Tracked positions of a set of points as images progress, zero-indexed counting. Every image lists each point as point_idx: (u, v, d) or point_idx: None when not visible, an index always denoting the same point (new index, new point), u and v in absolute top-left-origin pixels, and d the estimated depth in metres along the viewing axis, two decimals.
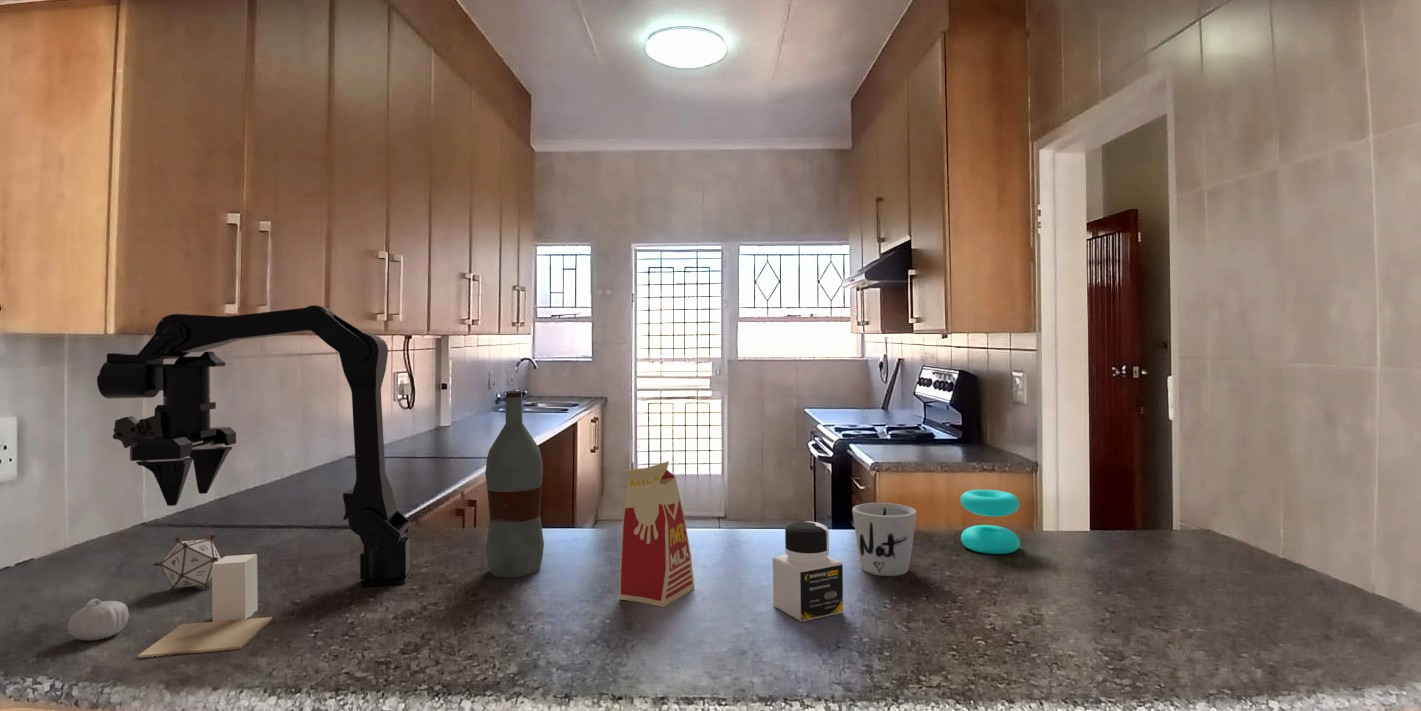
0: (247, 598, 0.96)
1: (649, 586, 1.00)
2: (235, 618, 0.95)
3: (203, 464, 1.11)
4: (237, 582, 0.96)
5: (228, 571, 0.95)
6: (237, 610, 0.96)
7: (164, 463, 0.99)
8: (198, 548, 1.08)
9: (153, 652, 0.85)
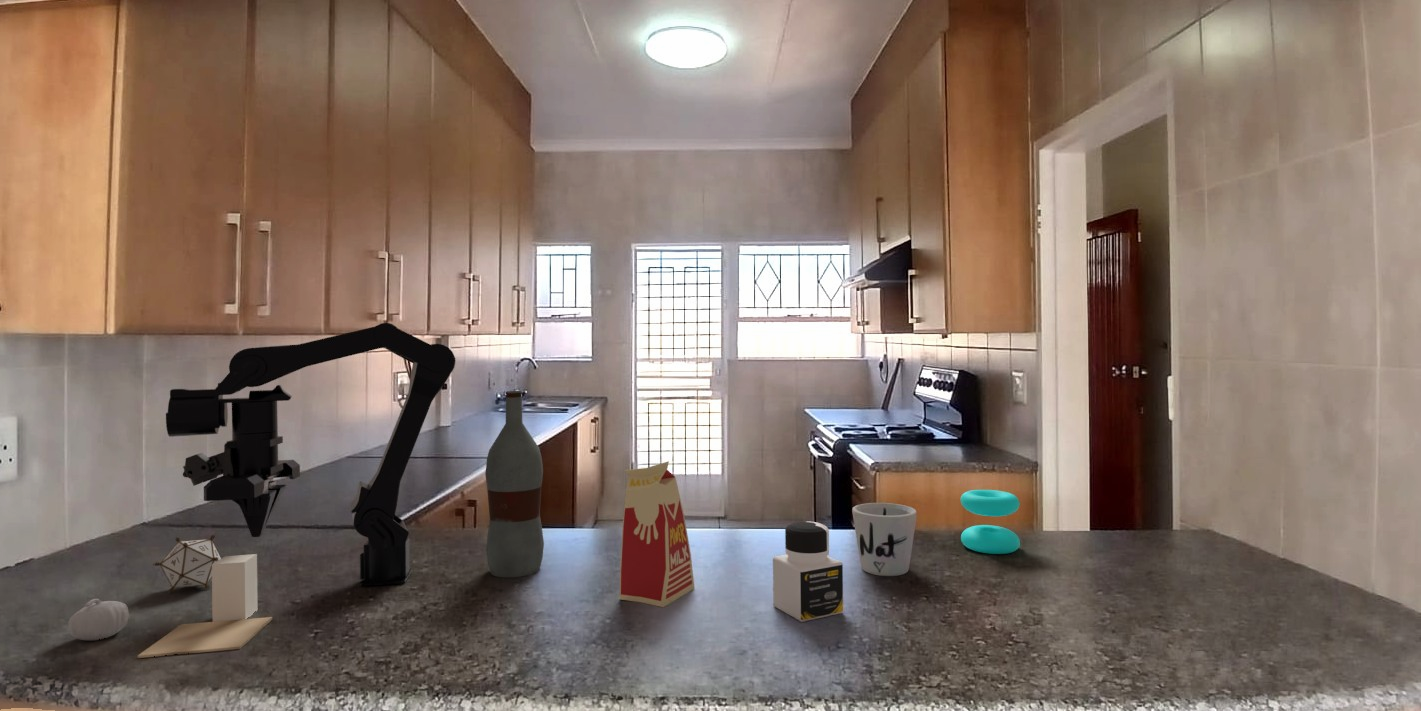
0: (247, 598, 0.96)
1: (649, 586, 1.00)
2: (235, 618, 0.95)
3: None
4: (237, 582, 0.95)
5: (228, 571, 0.95)
6: (237, 610, 0.96)
7: None
8: (198, 548, 1.08)
9: (153, 652, 0.85)
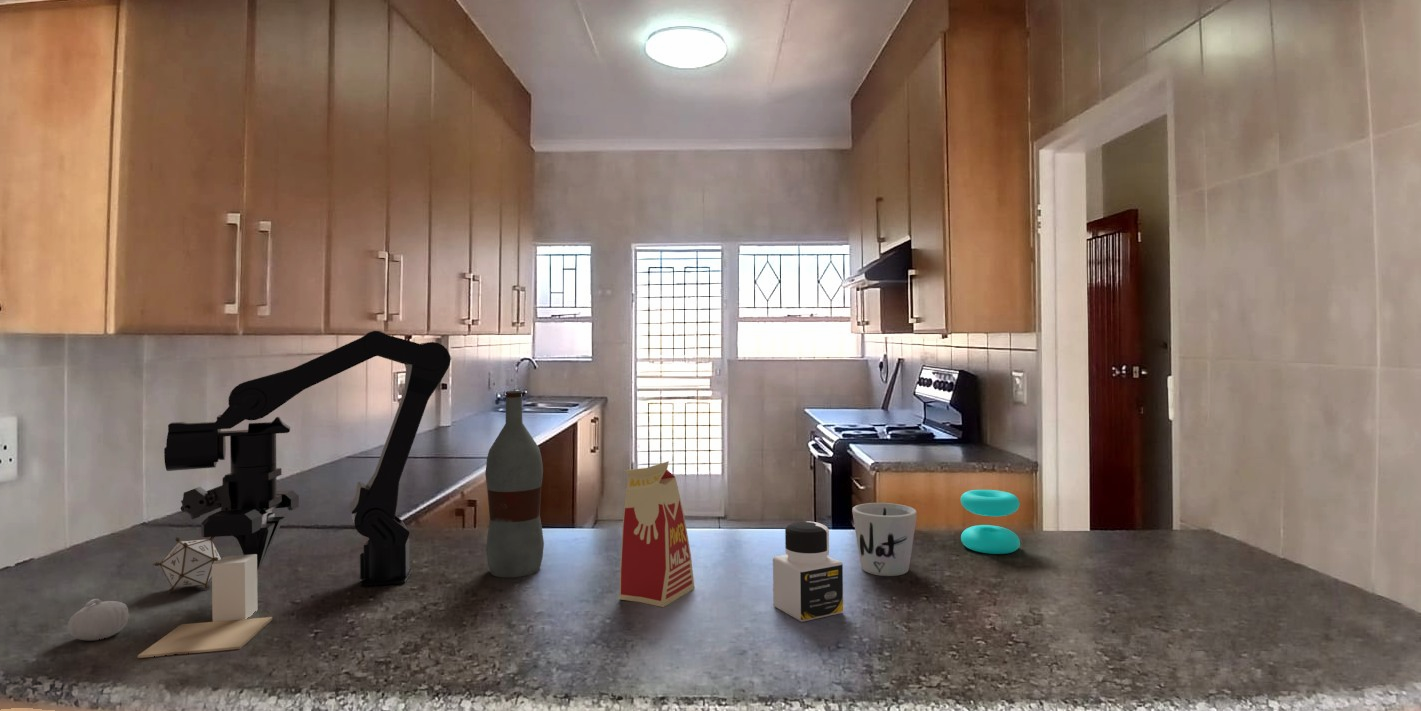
0: (247, 598, 0.96)
1: (649, 586, 1.00)
2: (235, 618, 0.95)
3: None
4: (237, 582, 0.95)
5: (228, 571, 0.95)
6: (237, 610, 0.96)
7: None
8: (198, 548, 1.08)
9: (153, 652, 0.85)
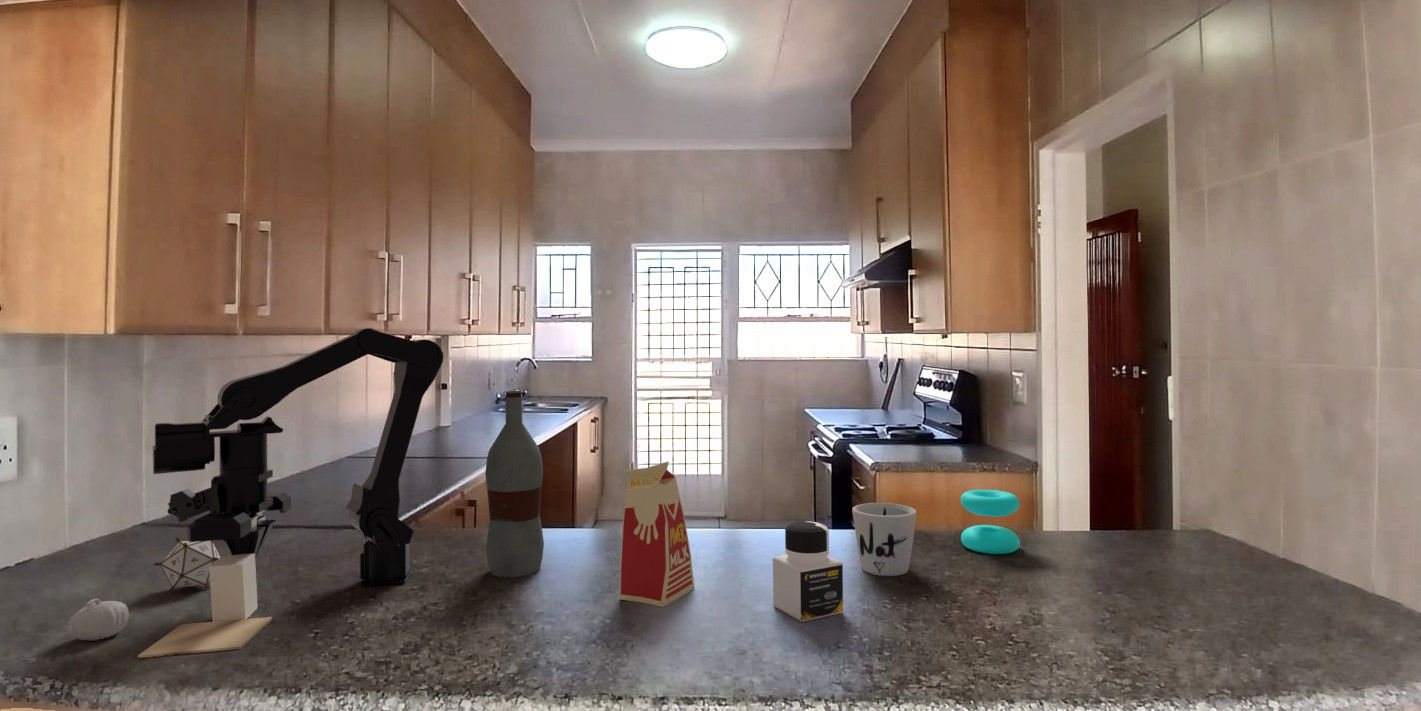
0: (246, 599, 0.96)
1: (649, 586, 1.00)
2: (235, 618, 0.95)
3: None
4: (235, 584, 0.95)
5: (226, 573, 0.95)
6: (237, 611, 0.95)
7: None
8: (198, 548, 1.08)
9: (153, 652, 0.85)
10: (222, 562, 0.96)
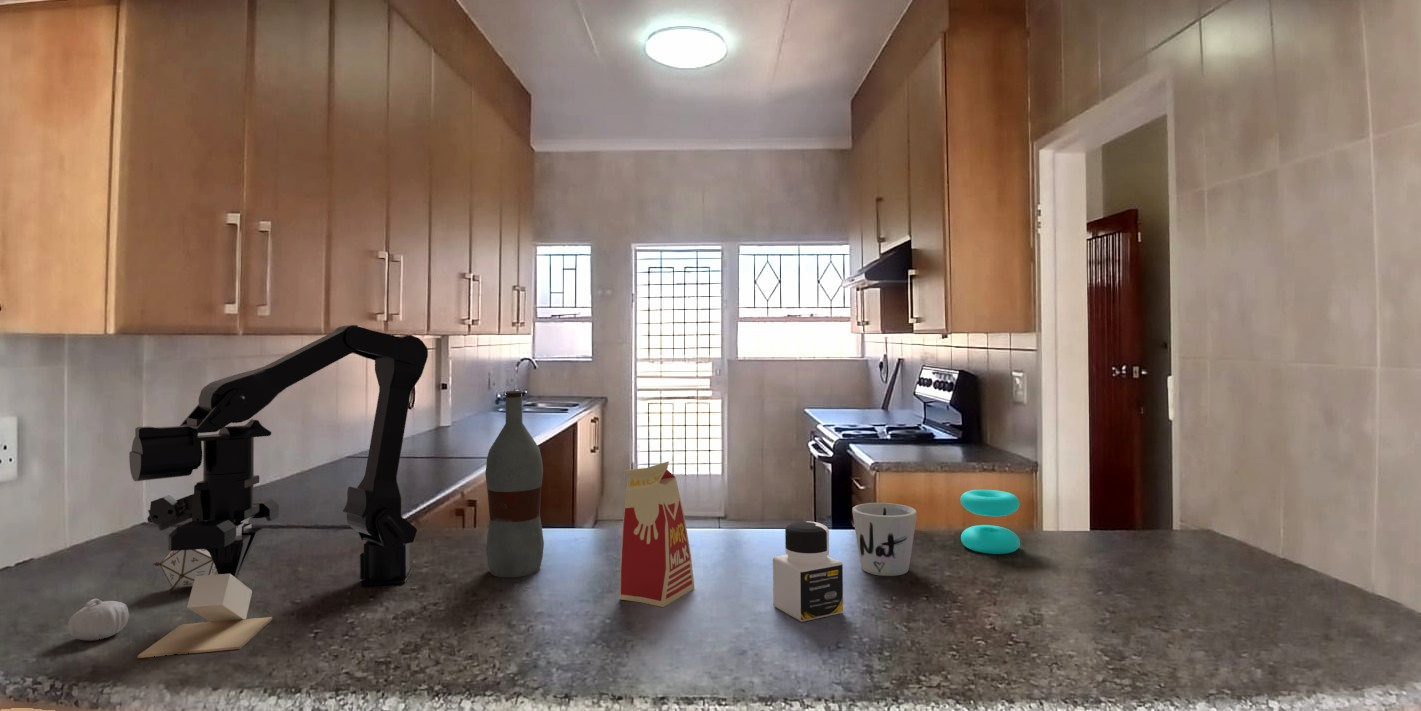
0: (239, 609, 0.94)
1: (649, 586, 1.00)
2: None
3: None
4: (222, 610, 0.91)
5: (208, 608, 0.90)
6: (233, 618, 0.94)
7: None
8: None
9: (153, 652, 0.85)
10: (199, 597, 0.89)
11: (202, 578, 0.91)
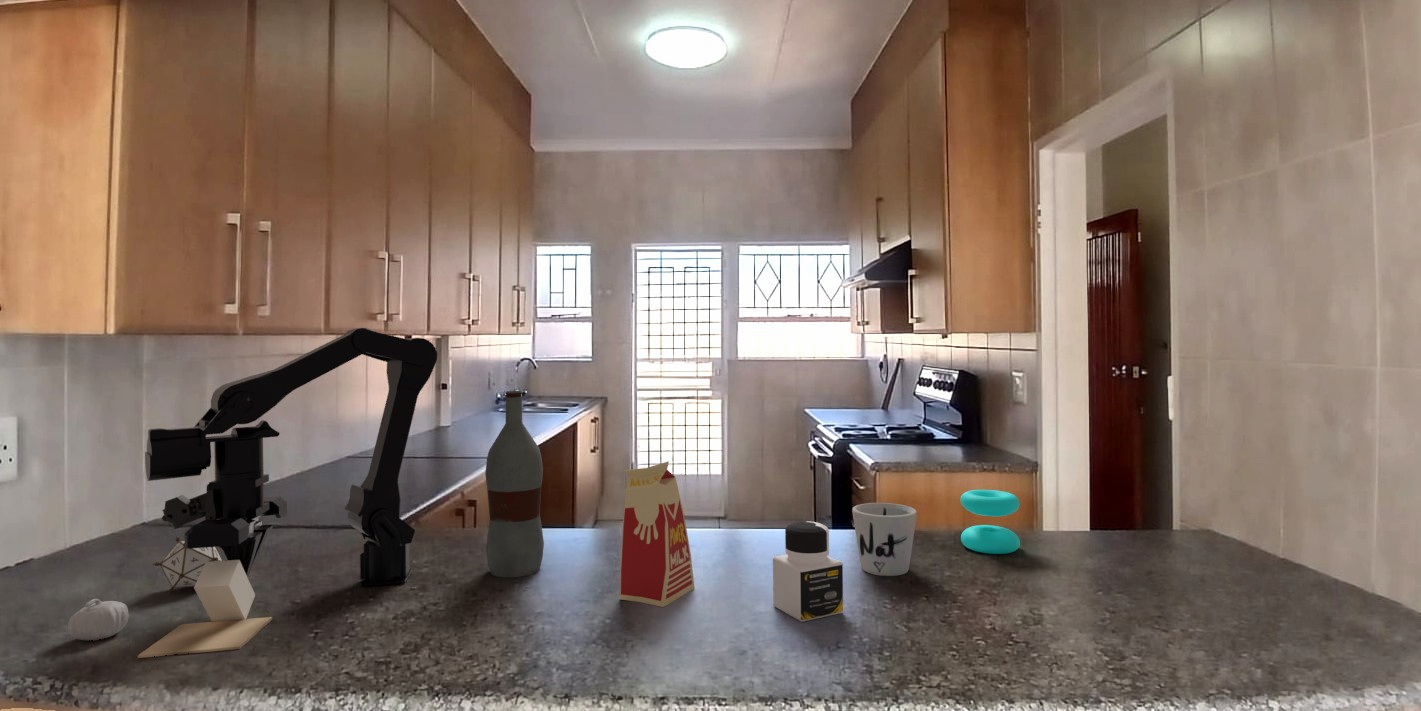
0: (241, 603, 0.95)
1: (649, 586, 1.00)
2: (234, 619, 0.95)
3: None
4: (226, 598, 0.92)
5: (213, 591, 0.91)
6: (234, 614, 0.95)
7: None
8: (198, 548, 1.08)
9: (153, 652, 0.85)
10: (207, 579, 0.91)
11: (212, 563, 0.93)
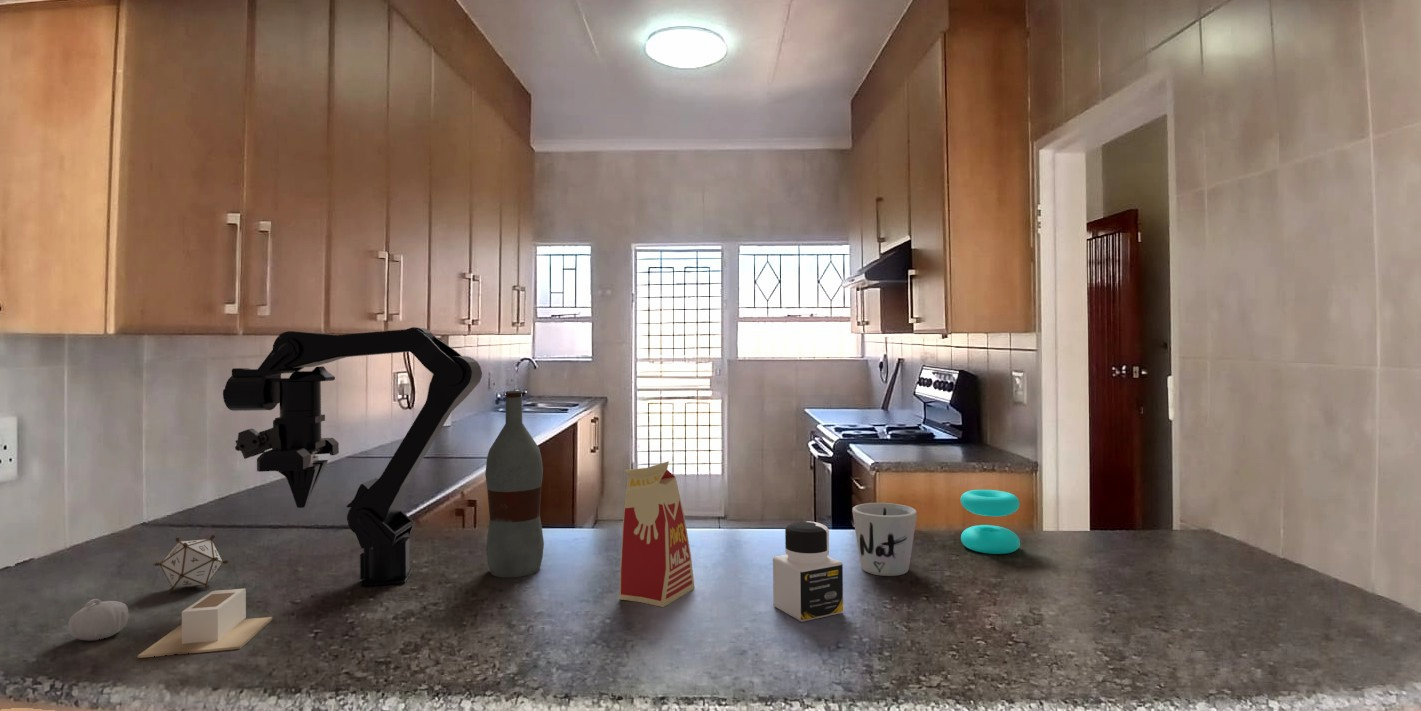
0: (236, 619, 0.93)
1: (649, 586, 1.00)
2: None
3: None
4: None
5: None
6: None
7: None
8: (198, 548, 1.08)
9: (153, 652, 0.85)
10: (191, 633, 0.87)
11: (189, 614, 0.87)
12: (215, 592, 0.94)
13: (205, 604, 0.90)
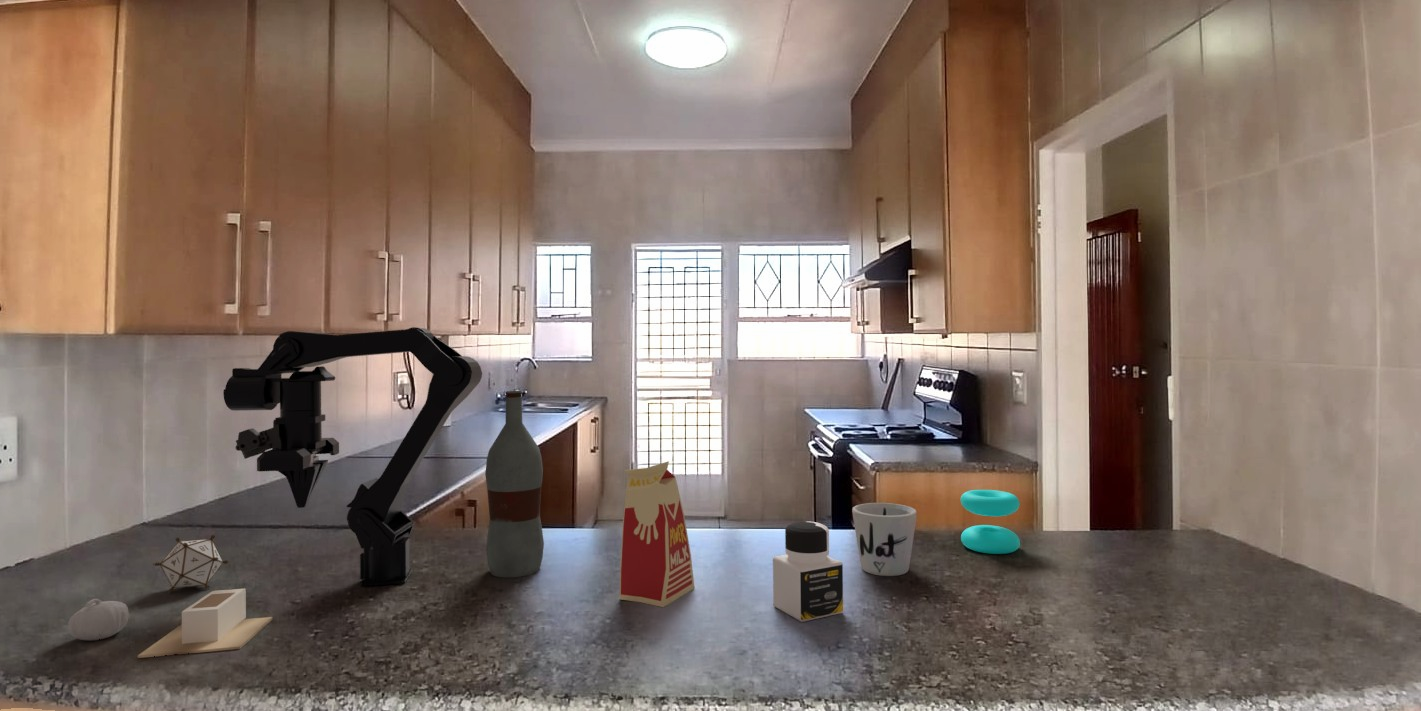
0: (236, 619, 0.93)
1: (649, 586, 1.00)
2: None
3: None
4: None
5: None
6: None
7: None
8: (198, 548, 1.08)
9: (153, 652, 0.85)
10: (191, 633, 0.87)
11: (189, 614, 0.87)
12: (215, 592, 0.94)
13: (205, 604, 0.90)
